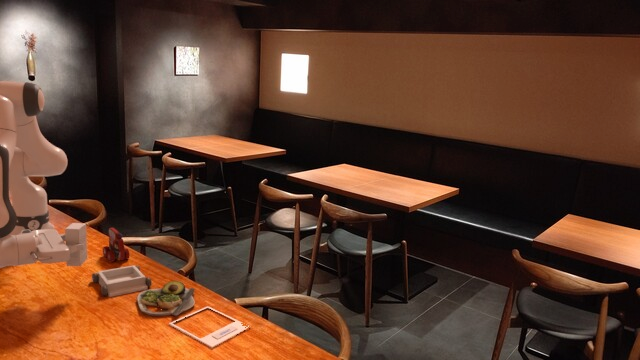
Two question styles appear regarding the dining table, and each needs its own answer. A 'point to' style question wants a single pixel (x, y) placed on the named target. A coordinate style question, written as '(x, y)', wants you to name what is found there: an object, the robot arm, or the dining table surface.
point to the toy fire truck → (115, 247)
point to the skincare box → (74, 236)
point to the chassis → (121, 280)
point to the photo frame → (218, 335)
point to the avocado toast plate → (167, 299)
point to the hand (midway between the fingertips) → (79, 241)
